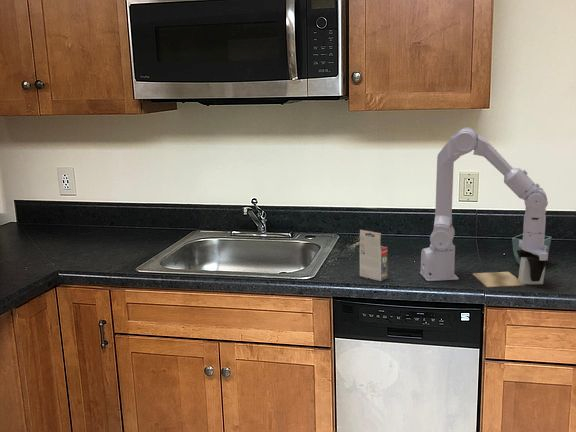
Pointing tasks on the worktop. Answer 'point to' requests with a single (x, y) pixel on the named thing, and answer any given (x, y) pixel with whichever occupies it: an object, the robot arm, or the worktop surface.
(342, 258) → the worktop surface
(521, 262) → the slab
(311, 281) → the worktop surface
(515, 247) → the flower pot
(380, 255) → the ink box
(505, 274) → the board
